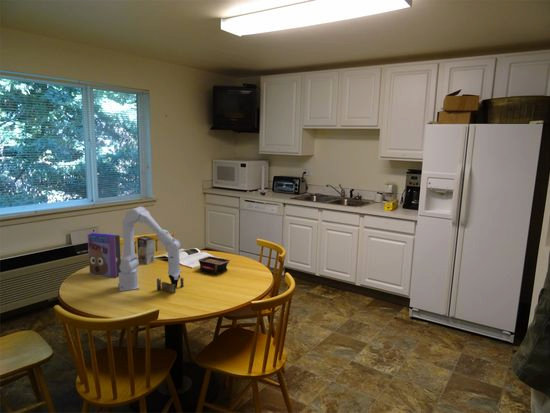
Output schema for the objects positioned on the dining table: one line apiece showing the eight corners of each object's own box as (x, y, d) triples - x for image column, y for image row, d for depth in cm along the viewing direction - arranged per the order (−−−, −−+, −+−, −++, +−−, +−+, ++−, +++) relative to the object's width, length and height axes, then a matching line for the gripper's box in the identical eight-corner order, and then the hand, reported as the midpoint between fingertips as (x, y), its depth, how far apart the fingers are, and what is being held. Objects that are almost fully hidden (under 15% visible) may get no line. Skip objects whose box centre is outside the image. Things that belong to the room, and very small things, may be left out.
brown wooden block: (161, 289, 198) (161, 281, 197) (163, 288, 199) (163, 280, 198) (173, 293, 194) (173, 285, 193) (175, 292, 195) (175, 284, 194)
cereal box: (90, 274, 218) (87, 234, 214) (95, 271, 222) (93, 232, 218) (116, 277, 214) (114, 236, 210) (121, 274, 218) (119, 234, 214)
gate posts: (157, 290, 197) (156, 280, 196) (156, 289, 199) (156, 278, 197) (183, 287, 202) (183, 276, 201) (183, 286, 204) (183, 275, 203)
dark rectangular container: (212, 268, 239) (210, 253, 238) (234, 269, 230) (231, 254, 228) (196, 276, 228) (193, 260, 226) (218, 278, 218) (215, 262, 216)
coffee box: (137, 261, 242) (136, 237, 239) (145, 259, 247) (144, 235, 245) (147, 264, 237) (146, 240, 234) (155, 262, 243) (154, 237, 240)
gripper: (184, 266, 190) (184, 292, 192) (179, 258, 203) (179, 282, 205) (170, 268, 187) (170, 294, 190) (165, 259, 200) (166, 284, 203)
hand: (174, 288), depth 197 cm, fingers closed
